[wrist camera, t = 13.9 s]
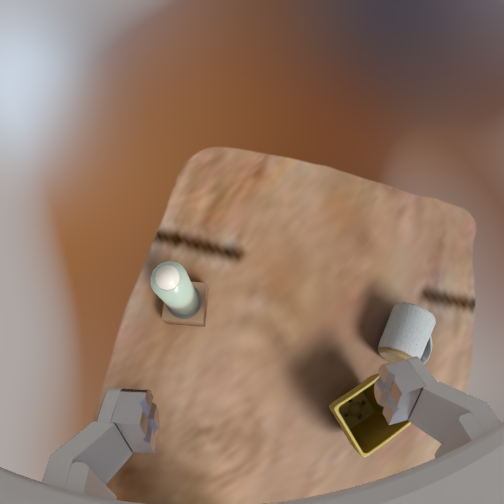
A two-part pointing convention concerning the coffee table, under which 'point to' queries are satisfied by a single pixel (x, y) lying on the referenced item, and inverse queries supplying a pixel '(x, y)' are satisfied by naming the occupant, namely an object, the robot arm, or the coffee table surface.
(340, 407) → the flower pot
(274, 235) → the coffee table surface
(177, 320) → the base
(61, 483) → the robot arm
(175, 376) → the coffee table surface
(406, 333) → the ceramic mug
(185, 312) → the column
